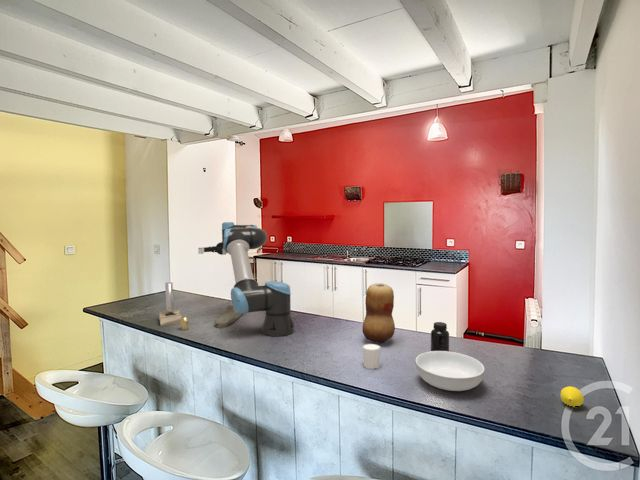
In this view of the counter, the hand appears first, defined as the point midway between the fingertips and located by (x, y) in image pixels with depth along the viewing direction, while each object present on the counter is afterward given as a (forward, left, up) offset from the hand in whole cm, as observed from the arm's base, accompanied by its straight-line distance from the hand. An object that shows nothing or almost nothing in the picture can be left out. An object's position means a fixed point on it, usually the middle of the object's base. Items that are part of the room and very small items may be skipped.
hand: (211, 251), depth 201 cm
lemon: (-149, -72, -35) cm, 169 cm away
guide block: (-4, +22, -35) cm, 42 cm away
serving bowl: (-123, -52, -35) cm, 138 cm away
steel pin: (-4, +22, -35) cm, 42 cm away
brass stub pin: (-23, +17, -35) cm, 45 cm away
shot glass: (-100, -38, -35) cm, 113 cm away
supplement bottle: (-103, -68, -35) cm, 128 cm away
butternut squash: (-81, -55, -35) cm, 104 cm away
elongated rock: (-14, -7, -36) cm, 39 cm away
